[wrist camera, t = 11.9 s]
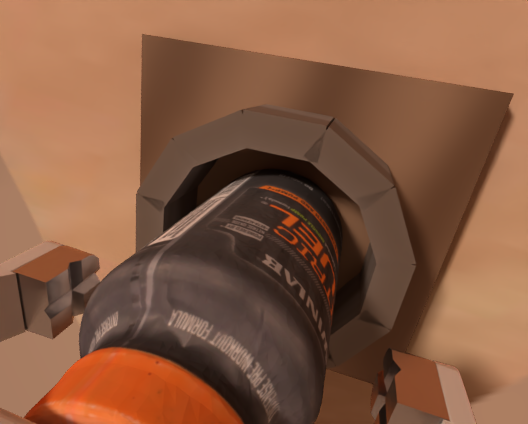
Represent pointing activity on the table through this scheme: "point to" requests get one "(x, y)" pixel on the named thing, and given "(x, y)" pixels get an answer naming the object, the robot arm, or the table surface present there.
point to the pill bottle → (213, 316)
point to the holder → (322, 167)
